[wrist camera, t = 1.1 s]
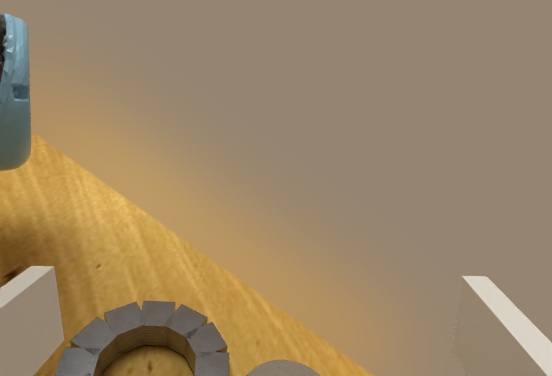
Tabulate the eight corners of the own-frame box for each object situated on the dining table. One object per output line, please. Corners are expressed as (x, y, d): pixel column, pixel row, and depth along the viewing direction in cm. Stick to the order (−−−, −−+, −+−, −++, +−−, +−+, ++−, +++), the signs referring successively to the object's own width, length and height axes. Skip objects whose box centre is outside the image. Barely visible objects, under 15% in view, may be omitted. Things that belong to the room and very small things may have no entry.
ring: (18, 413, 29) (11, 392, 27) (138, 299, 38) (138, 280, 37) (159, 514, 25) (159, 496, 24) (252, 362, 35) (257, 343, 33)
